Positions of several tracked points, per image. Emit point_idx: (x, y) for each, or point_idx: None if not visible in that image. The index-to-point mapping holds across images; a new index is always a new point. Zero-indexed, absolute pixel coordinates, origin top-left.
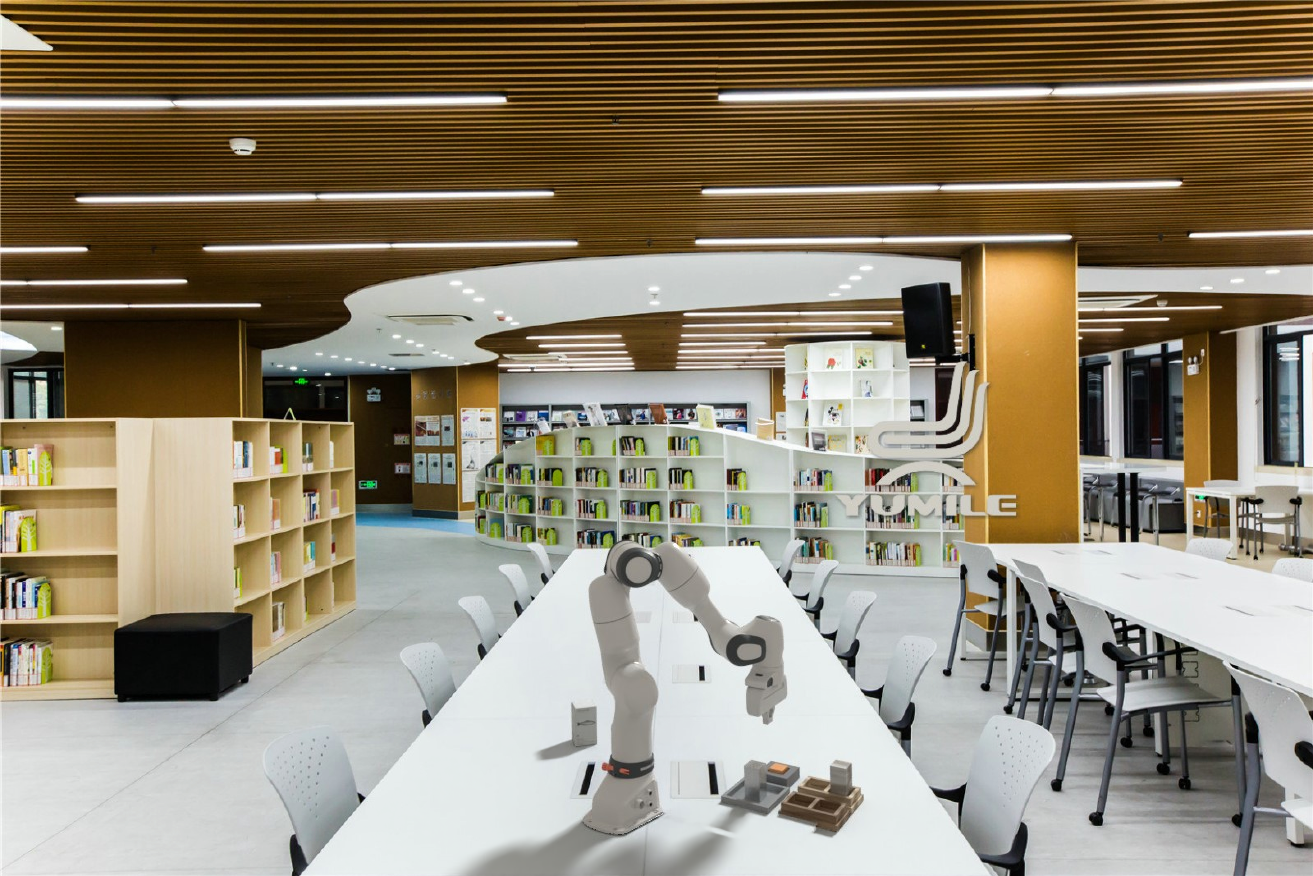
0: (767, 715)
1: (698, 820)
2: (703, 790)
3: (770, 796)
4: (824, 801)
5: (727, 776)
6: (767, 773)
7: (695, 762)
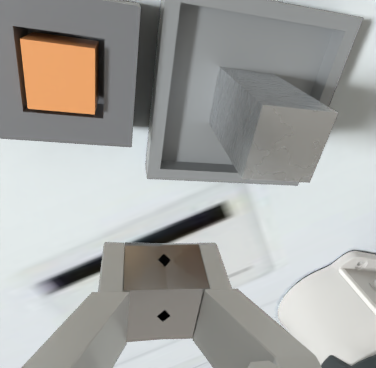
0: (285, 333)
1: (368, 185)
2: (216, 237)
3: (220, 52)
4: None
5: (109, 224)
6: (126, 108)
7: (72, 311)
